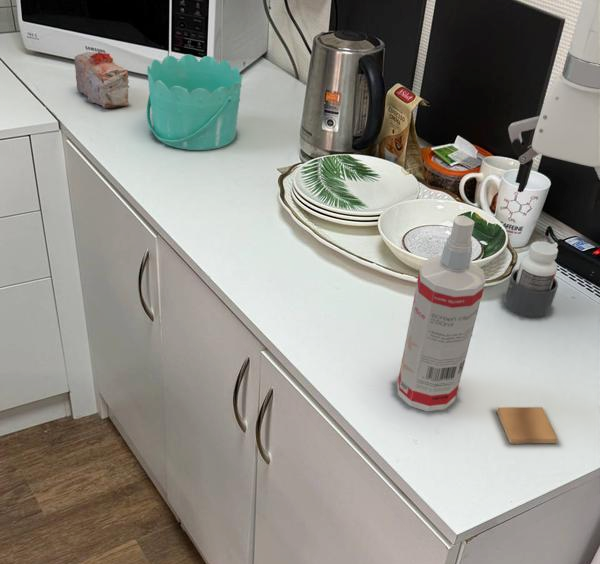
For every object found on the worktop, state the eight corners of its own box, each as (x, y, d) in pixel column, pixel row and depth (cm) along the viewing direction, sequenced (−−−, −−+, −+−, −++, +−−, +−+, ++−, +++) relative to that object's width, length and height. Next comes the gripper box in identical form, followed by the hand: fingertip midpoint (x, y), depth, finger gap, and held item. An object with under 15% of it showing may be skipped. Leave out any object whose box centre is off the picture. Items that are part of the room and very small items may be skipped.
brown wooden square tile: (540, 411, 105) (542, 407, 104) (556, 443, 100) (558, 438, 99) (496, 411, 104) (497, 407, 103) (509, 443, 99) (511, 439, 99)
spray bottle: (466, 400, 105) (513, 228, 89) (423, 418, 102) (463, 242, 86) (428, 367, 110) (465, 199, 94) (385, 383, 107) (416, 211, 91)
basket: (256, 144, 164) (259, 79, 155) (176, 160, 155) (174, 92, 147) (210, 111, 175) (210, 49, 167) (133, 124, 167) (129, 60, 158)
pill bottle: (551, 312, 123) (569, 256, 116) (518, 314, 121) (535, 257, 115) (535, 293, 127) (552, 237, 120) (504, 295, 125) (519, 239, 119)
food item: (135, 107, 174) (132, 60, 168) (102, 113, 170) (98, 65, 163) (103, 87, 182) (99, 41, 175) (71, 93, 177) (66, 46, 171)
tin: (541, 293, 127) (549, 268, 124) (555, 318, 122) (564, 293, 119) (498, 292, 126) (505, 267, 124) (511, 317, 121) (518, 292, 118)
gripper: (667, 78, 101) (622, 202, 112) (532, 50, 106) (501, 172, 117) (662, 95, 96) (615, 224, 107) (520, 64, 101) (488, 191, 112)
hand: (555, 197), depth 112 cm, fingers open, 9 cm apart
